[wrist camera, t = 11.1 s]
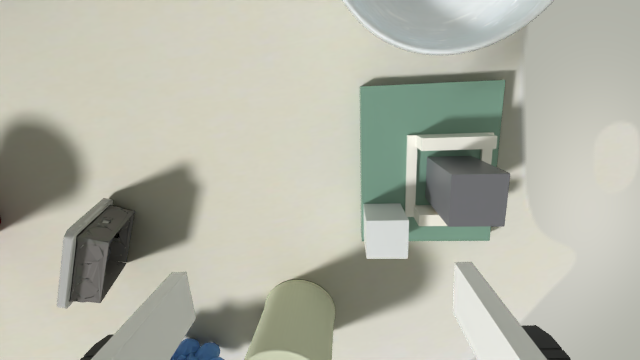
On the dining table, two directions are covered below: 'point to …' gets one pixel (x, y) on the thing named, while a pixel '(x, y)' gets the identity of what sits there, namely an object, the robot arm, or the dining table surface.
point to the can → (295, 324)
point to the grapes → (196, 351)
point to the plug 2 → (467, 191)
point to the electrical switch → (94, 253)
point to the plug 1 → (385, 231)
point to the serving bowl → (444, 22)
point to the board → (425, 145)
